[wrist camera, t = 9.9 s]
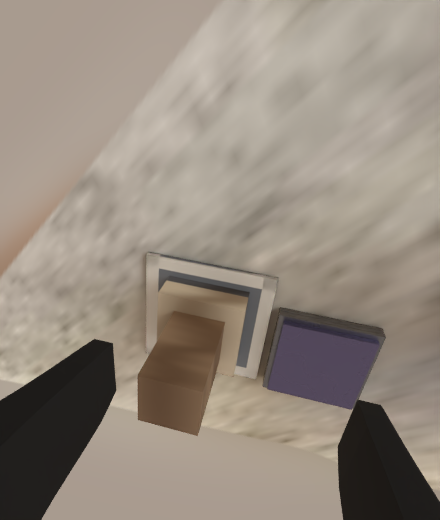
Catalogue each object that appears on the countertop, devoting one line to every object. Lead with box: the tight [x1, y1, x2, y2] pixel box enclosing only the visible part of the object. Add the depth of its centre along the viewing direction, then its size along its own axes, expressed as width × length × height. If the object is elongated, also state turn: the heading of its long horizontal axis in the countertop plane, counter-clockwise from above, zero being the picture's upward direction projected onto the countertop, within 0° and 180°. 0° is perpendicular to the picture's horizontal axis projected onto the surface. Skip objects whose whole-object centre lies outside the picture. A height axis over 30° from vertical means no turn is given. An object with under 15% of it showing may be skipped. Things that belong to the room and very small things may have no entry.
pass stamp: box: [138, 276, 250, 436], centre depth 18 cm, size 5×5×7 cm
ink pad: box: [263, 307, 386, 410], centre depth 21 cm, size 6×6×1 cm
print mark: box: [146, 252, 278, 379], centre depth 22 cm, size 8×8×1 cm
